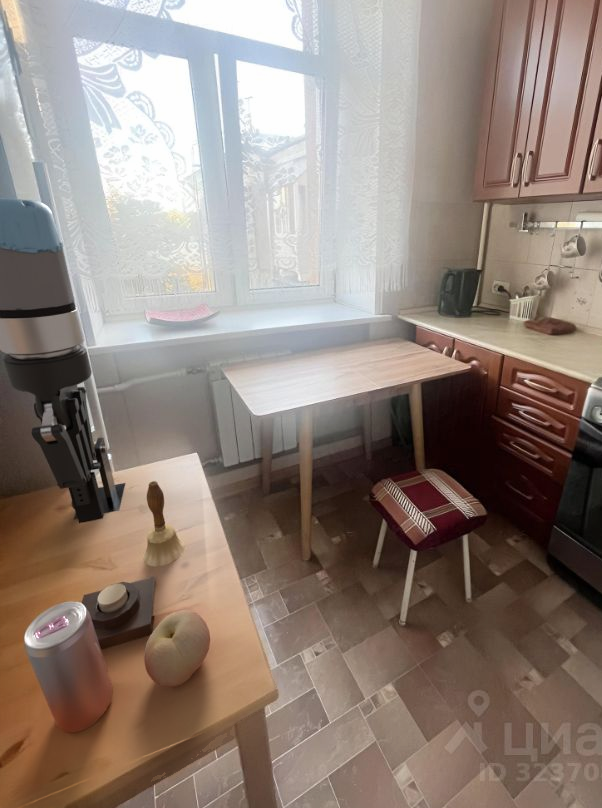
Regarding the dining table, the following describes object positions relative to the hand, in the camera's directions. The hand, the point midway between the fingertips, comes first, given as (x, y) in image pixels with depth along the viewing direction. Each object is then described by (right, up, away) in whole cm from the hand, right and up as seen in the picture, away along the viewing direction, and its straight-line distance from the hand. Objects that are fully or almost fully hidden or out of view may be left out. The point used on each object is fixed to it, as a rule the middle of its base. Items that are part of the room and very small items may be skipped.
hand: (92, 517), depth 53 cm
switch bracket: (-19, -8, +31) cm, 37 cm away
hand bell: (0, -14, +19) cm, 23 cm away
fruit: (+12, -21, +1) cm, 24 cm away
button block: (-1, -18, +7) cm, 20 cm away
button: (-1, -15, +6) cm, 16 cm away
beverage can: (+2, -23, -4) cm, 23 cm away
